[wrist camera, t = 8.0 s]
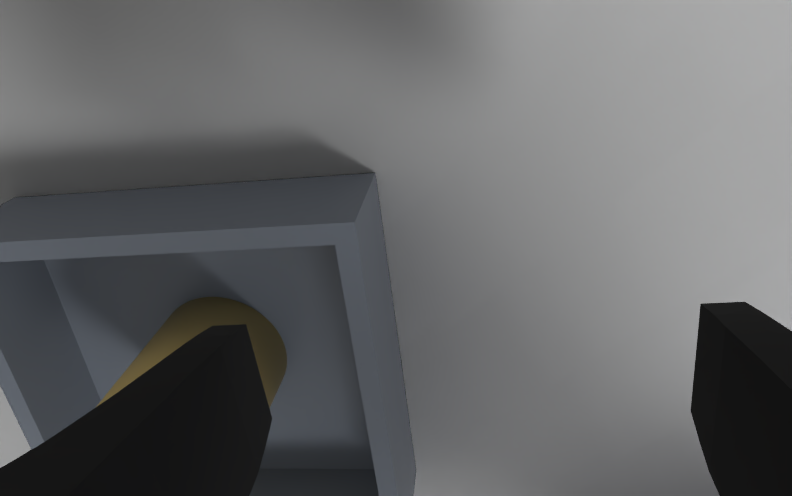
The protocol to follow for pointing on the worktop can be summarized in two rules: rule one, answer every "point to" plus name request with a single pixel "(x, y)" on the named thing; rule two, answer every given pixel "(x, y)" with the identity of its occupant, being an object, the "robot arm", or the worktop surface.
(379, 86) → the worktop surface
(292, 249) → the bin
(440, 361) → the worktop surface
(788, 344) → the robot arm
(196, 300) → the peg
